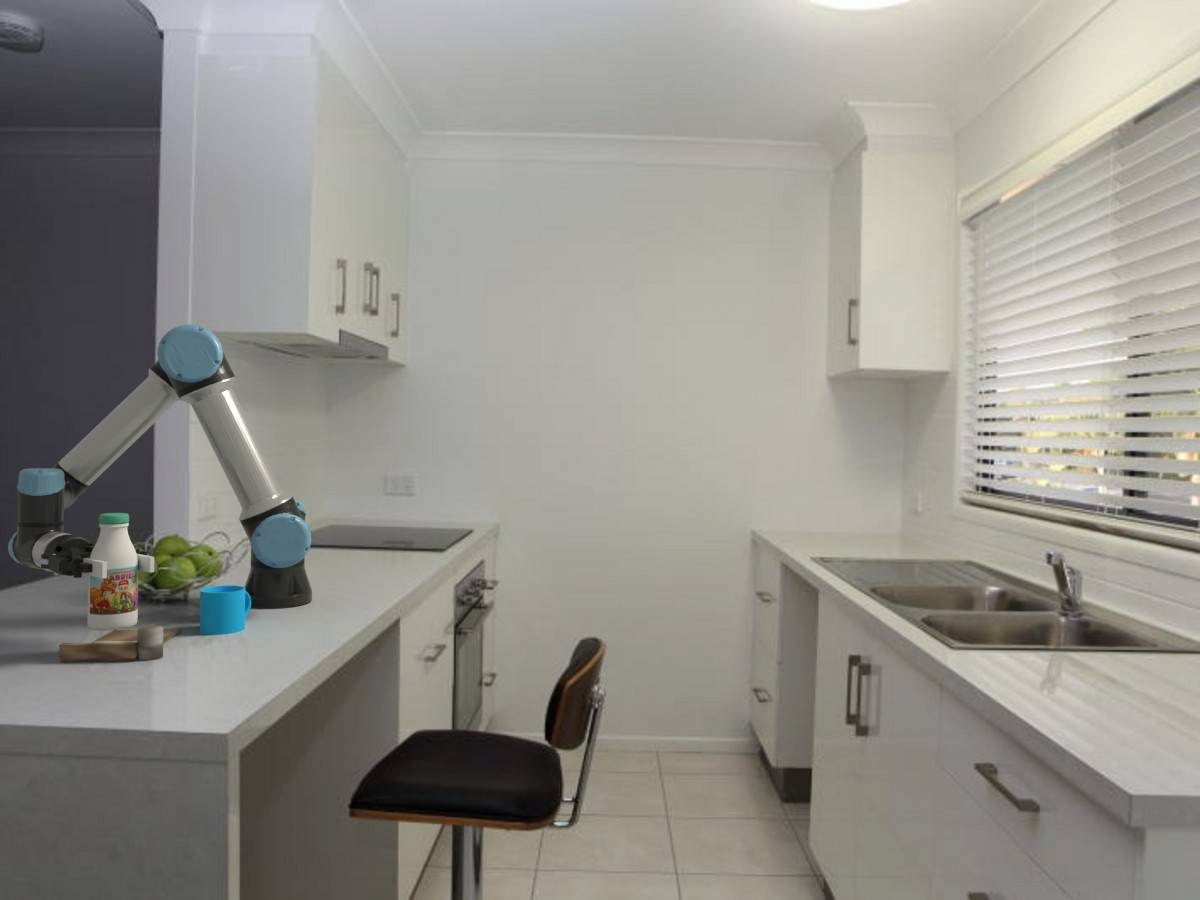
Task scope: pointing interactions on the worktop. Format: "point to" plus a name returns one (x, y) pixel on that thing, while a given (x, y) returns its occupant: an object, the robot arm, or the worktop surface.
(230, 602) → the mug
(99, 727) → the worktop surface
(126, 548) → the milk bottle
